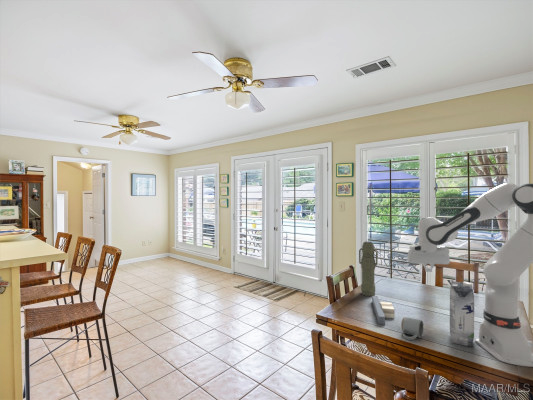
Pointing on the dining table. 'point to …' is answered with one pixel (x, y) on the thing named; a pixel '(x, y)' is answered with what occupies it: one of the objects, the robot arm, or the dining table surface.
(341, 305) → the dining table surface
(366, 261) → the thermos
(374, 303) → the grey rectangular bar
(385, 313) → the birch block
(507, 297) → the robot arm
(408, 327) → the ceramic mug
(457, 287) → the juice carton
